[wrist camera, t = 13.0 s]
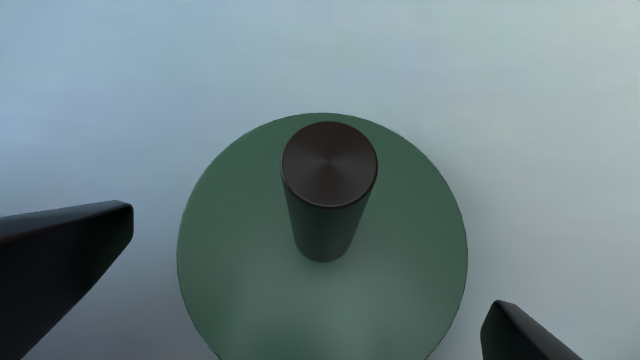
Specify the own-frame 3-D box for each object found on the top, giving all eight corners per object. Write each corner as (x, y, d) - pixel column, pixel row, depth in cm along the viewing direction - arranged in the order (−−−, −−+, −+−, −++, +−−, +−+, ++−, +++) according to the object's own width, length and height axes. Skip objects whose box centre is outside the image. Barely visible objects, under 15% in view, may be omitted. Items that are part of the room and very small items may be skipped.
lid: (442, 438, 14) (599, 565, 6) (135, 347, 15) (-48, 359, 7) (469, 154, 19) (573, 33, 11) (239, 102, 20) (195, -39, 12)
